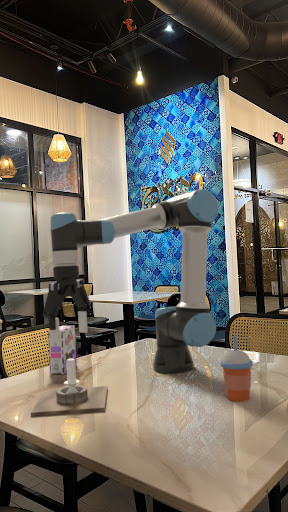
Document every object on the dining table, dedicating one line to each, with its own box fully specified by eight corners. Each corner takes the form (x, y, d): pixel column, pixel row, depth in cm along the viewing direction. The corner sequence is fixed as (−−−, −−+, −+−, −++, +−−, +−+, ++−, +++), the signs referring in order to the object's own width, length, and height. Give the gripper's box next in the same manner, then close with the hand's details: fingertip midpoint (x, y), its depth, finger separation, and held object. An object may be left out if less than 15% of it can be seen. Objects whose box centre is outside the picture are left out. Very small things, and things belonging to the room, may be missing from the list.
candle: (68, 402, 119) (66, 360, 119) (60, 398, 123) (58, 357, 124) (85, 397, 123) (83, 357, 123) (76, 394, 127) (74, 354, 127)
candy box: (64, 374, 154) (61, 330, 154) (49, 374, 155) (47, 330, 156) (77, 365, 168) (75, 324, 168) (63, 365, 169) (61, 325, 169)
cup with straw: (236, 406, 112) (232, 339, 113) (215, 397, 120) (212, 335, 121) (261, 399, 116) (258, 335, 117) (240, 391, 125) (236, 331, 125)
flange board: (107, 389, 133) (106, 378, 133) (104, 411, 113) (104, 398, 113) (44, 393, 132) (44, 382, 132) (30, 416, 112) (30, 403, 112)
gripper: (80, 264, 136) (84, 328, 136) (26, 267, 114) (31, 344, 114) (99, 263, 133) (103, 329, 133) (48, 266, 111) (52, 345, 110)
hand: (70, 336), depth 123 cm, fingers open, 13 cm apart
